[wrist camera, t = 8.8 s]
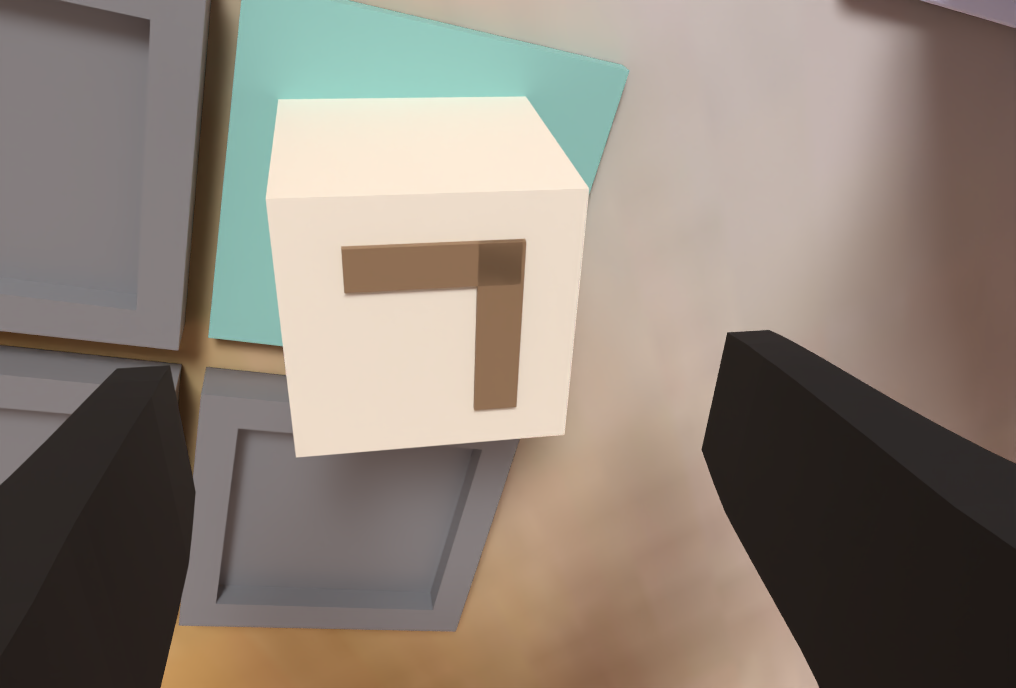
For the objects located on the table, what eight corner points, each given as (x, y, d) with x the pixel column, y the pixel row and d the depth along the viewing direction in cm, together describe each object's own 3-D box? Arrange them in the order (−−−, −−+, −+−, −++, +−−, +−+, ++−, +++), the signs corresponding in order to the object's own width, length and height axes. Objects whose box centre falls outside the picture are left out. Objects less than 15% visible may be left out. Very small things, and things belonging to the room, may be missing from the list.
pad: (623, 65, 16) (629, 70, 16) (526, 365, 20) (530, 374, 19) (244, -25, 14) (243, -20, 14) (210, 327, 18) (208, 337, 17)
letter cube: (525, 96, 16) (590, 191, 12) (514, 305, 18) (565, 438, 15) (278, 99, 15) (265, 202, 11) (300, 316, 18) (296, 461, 14)
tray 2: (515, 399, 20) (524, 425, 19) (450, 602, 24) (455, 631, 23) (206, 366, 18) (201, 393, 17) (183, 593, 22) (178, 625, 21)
